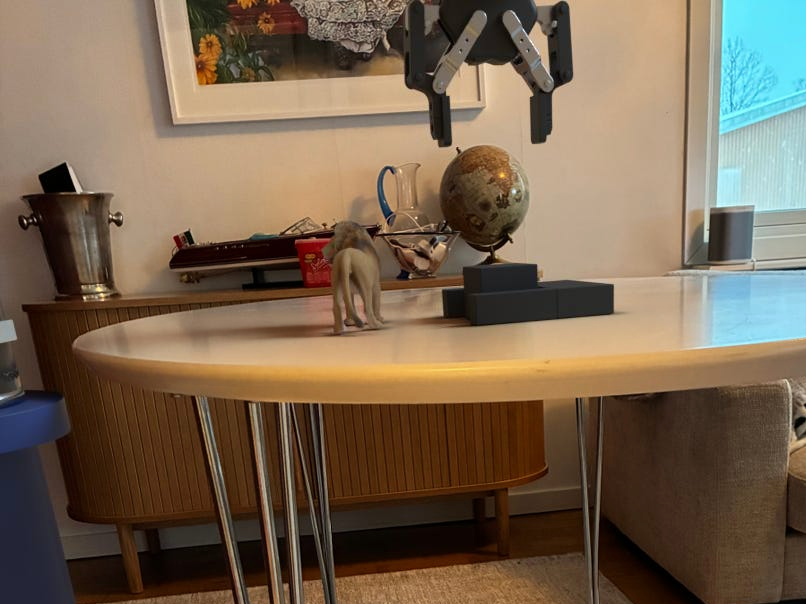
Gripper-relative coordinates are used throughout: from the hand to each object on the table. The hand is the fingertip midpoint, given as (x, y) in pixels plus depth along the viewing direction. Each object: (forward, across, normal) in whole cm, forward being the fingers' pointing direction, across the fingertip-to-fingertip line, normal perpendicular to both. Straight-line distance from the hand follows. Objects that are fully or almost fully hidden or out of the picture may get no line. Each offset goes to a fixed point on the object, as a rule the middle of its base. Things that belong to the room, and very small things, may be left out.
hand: (492, 145), depth 83 cm
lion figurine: (+14, +13, -3) cm, 20 cm away
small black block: (+14, 0, 0) cm, 14 cm away
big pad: (+14, -3, 0) cm, 14 cm away
